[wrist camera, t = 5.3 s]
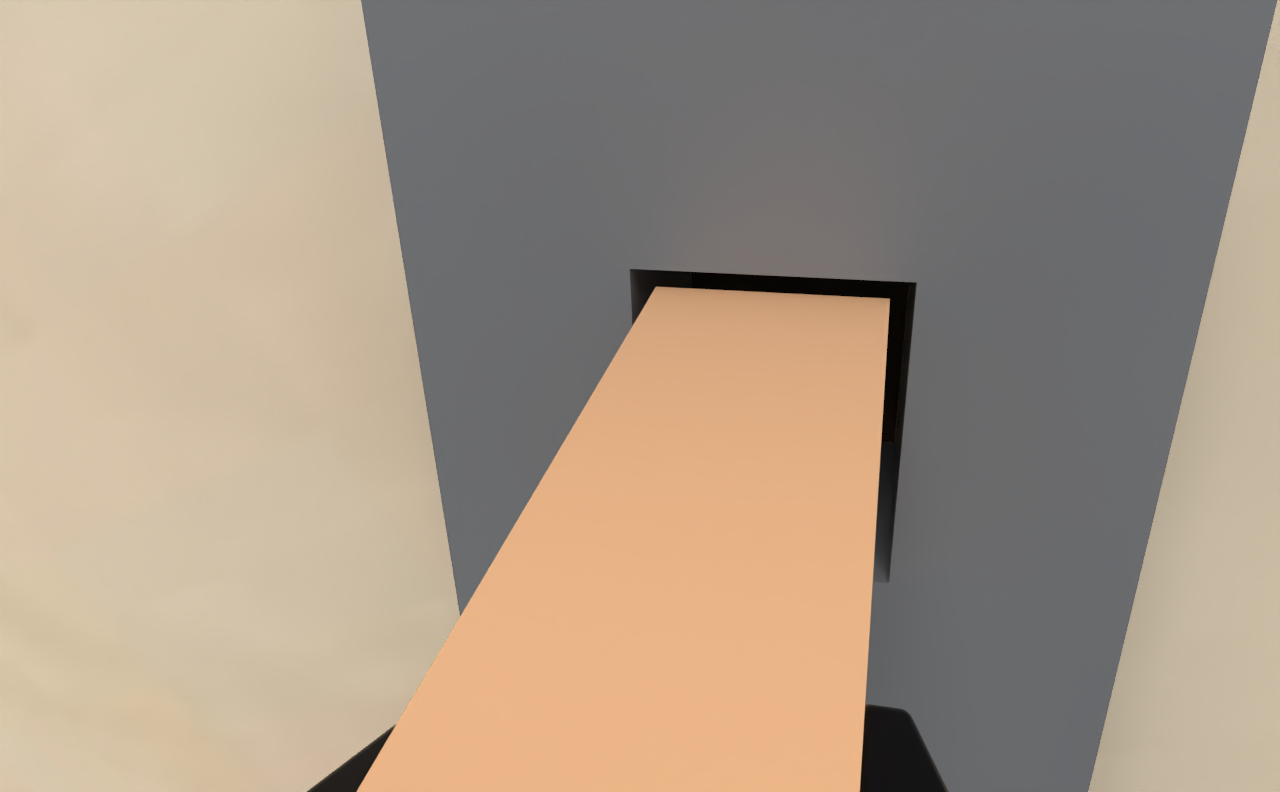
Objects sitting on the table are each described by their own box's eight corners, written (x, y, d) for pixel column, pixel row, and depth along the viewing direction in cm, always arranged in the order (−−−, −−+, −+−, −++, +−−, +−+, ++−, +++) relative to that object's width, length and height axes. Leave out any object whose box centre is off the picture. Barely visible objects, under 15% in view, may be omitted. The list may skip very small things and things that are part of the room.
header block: (980, 1009, 24) (990, 1199, 21) (584, 930, 27) (536, 1088, 23) (1194, -83, 13) (1291, -59, 10) (479, -62, 15) (355, -36, 12)
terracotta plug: (875, 562, 15) (817, 1589, 6) (659, 539, 15) (329, 1424, 7) (899, 292, 13) (858, 1241, 4) (647, 279, 13) (163, 1060, 5)
